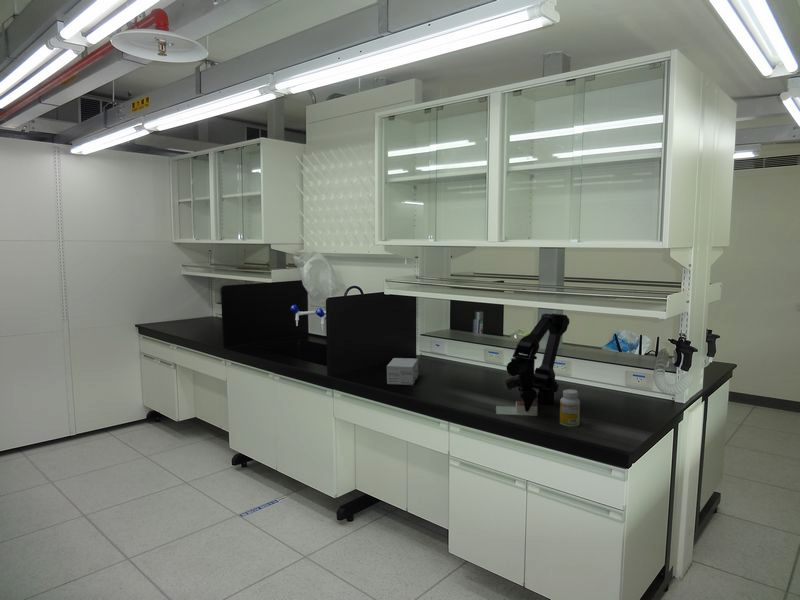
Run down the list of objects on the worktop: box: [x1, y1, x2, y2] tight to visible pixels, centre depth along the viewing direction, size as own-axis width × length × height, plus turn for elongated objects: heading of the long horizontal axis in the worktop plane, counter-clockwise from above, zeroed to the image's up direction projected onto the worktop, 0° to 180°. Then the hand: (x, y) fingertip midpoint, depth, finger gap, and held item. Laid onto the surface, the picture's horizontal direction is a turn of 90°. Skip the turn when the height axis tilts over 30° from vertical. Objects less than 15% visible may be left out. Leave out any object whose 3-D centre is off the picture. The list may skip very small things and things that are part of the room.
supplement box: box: [386, 357, 419, 386], centre depth 265 cm, size 17×13×9 cm
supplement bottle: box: [559, 388, 581, 427], centre depth 199 cm, size 7×7×13 cm
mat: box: [495, 405, 538, 417], centre depth 215 cm, size 16×10×1 cm, turn 81°
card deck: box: [515, 400, 538, 415], centre depth 214 cm, size 8×6×3 cm
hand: (526, 409), depth 214 cm, fingers closed on card deck, 5 cm apart
